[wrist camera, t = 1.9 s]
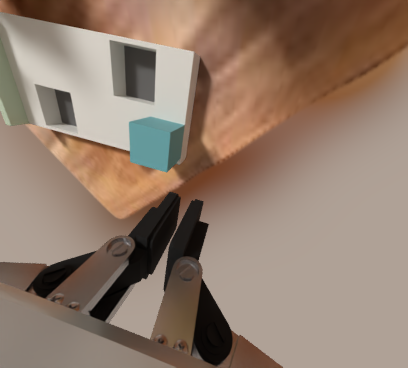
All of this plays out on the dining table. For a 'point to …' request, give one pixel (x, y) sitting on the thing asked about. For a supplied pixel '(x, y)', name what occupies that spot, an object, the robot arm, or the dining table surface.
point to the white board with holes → (91, 81)
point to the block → (155, 142)
